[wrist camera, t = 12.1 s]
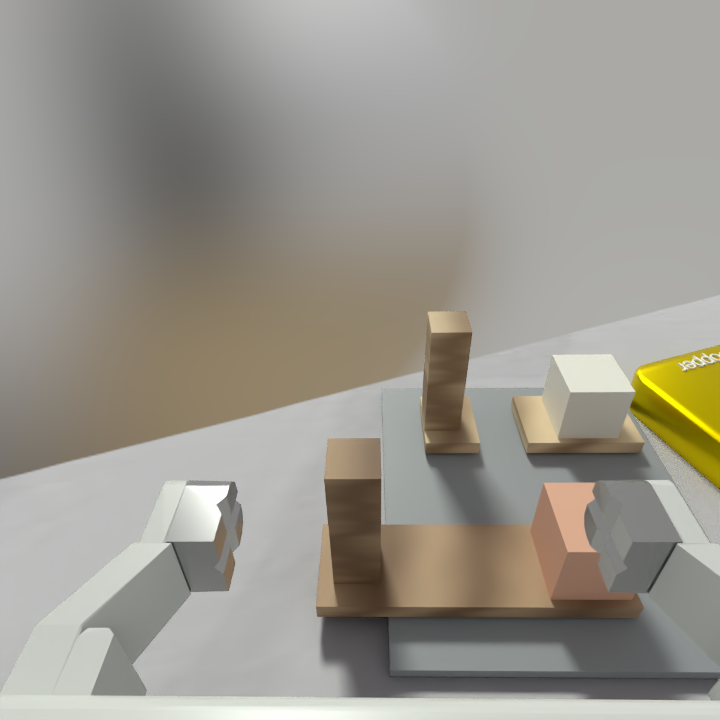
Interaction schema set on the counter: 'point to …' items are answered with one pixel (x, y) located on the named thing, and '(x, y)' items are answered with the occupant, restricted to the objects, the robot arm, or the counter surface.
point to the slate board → (515, 507)
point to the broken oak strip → (454, 411)
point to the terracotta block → (568, 544)
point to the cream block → (586, 396)
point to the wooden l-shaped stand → (427, 558)
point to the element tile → (683, 406)
